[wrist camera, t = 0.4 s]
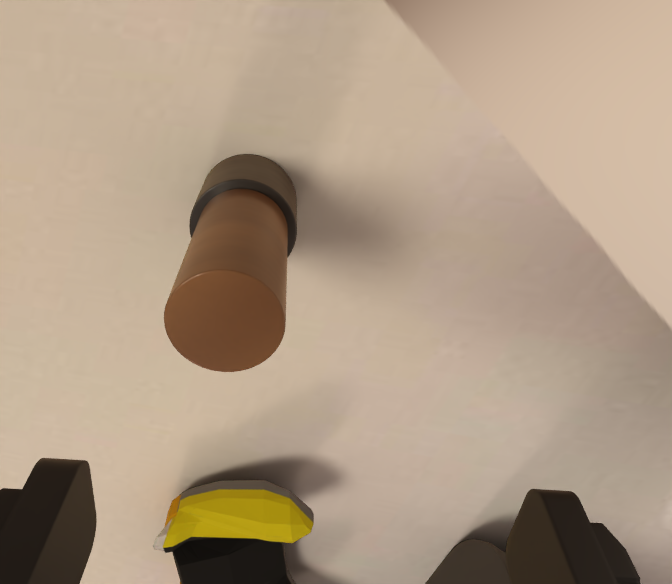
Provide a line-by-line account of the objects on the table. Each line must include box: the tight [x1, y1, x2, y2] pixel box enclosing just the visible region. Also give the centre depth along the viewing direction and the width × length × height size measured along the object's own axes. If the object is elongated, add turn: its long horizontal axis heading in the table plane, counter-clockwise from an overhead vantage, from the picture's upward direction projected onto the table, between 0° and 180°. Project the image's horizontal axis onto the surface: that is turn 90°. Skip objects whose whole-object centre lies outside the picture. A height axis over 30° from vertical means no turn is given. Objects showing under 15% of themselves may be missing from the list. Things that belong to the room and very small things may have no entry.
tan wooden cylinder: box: [164, 154, 297, 372], centre depth 25 cm, size 5×5×12 cm
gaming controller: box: [153, 480, 314, 584], centre depth 39 cm, size 15×6×10 cm
